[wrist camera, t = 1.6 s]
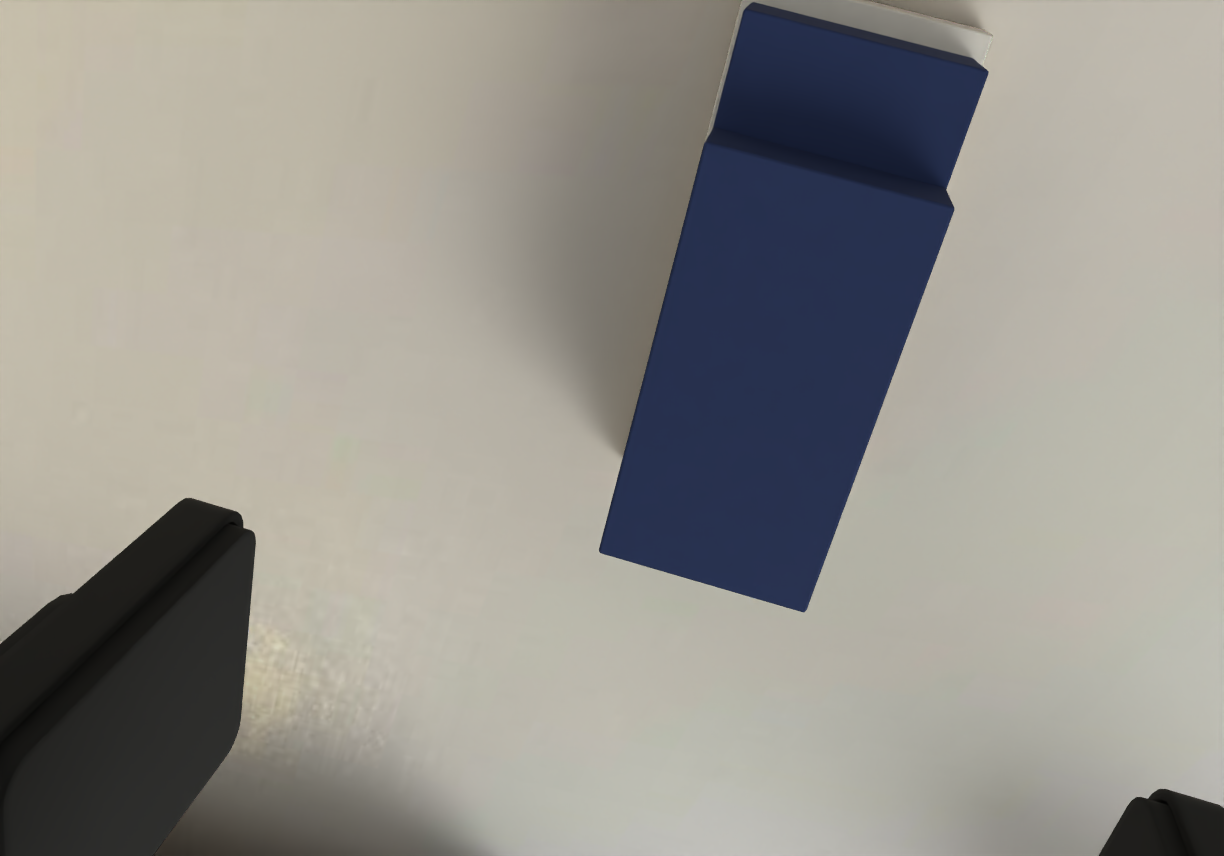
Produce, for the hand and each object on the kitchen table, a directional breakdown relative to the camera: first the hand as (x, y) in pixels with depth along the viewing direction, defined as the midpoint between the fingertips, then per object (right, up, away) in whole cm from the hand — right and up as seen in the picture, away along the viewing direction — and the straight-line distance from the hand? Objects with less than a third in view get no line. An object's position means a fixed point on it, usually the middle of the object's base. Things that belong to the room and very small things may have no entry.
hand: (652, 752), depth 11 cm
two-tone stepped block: (+4, +7, +14) cm, 16 cm away
